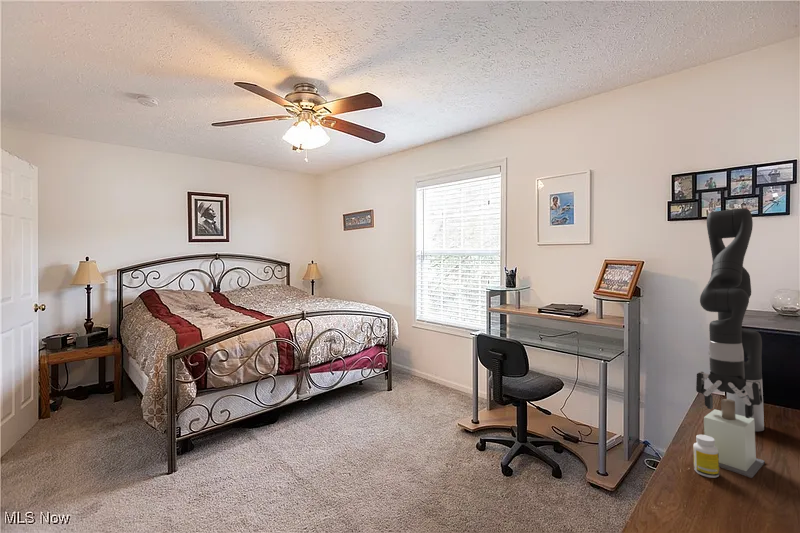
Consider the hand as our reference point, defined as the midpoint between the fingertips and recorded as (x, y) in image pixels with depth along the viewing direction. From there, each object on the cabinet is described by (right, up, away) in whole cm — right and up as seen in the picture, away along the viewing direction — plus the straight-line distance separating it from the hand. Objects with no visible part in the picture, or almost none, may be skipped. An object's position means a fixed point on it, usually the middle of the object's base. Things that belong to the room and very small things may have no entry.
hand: (728, 412), depth 108 cm
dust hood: (+1, -14, 0) cm, 14 cm away
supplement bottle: (-10, -15, -5) cm, 19 cm away
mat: (+1, -14, 0) cm, 14 cm away
